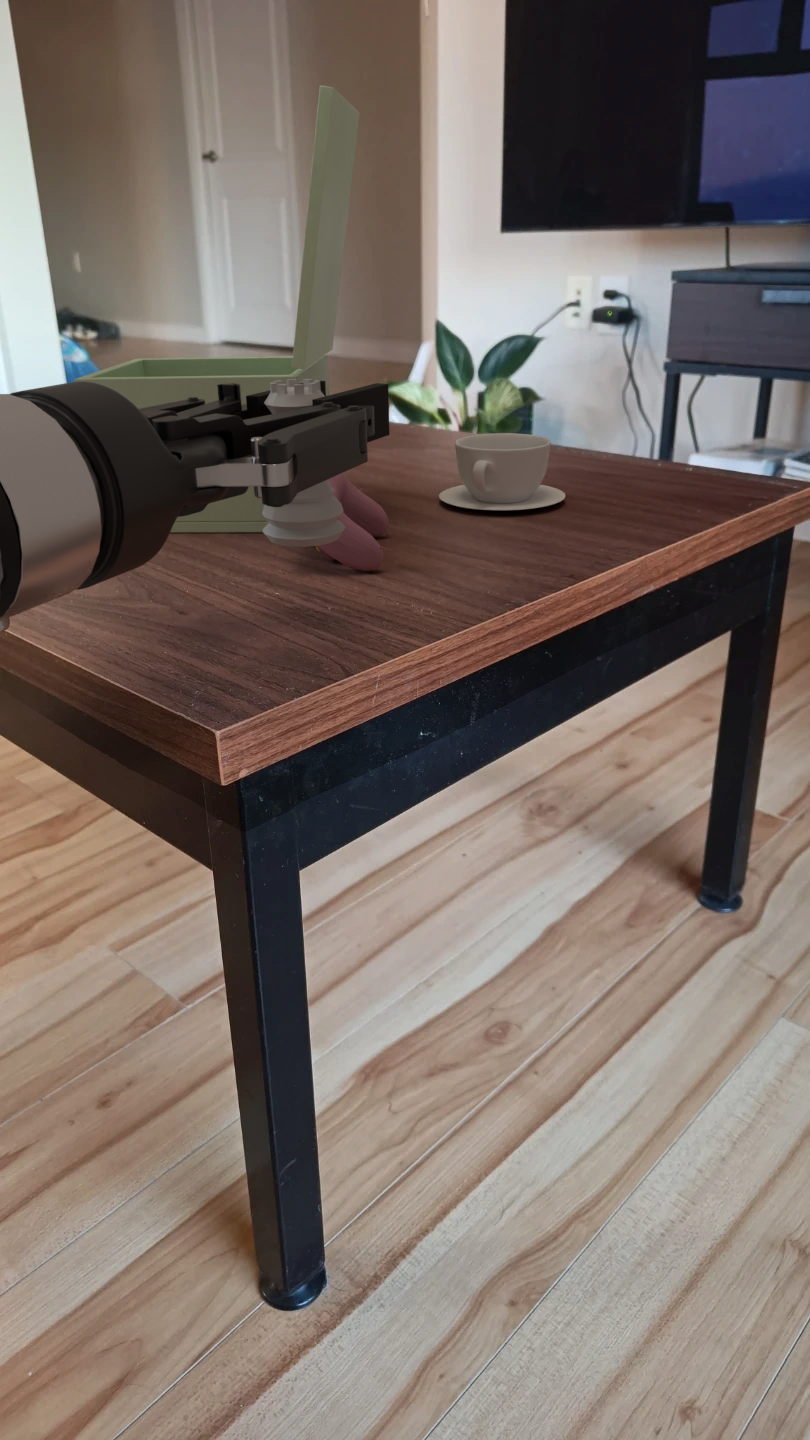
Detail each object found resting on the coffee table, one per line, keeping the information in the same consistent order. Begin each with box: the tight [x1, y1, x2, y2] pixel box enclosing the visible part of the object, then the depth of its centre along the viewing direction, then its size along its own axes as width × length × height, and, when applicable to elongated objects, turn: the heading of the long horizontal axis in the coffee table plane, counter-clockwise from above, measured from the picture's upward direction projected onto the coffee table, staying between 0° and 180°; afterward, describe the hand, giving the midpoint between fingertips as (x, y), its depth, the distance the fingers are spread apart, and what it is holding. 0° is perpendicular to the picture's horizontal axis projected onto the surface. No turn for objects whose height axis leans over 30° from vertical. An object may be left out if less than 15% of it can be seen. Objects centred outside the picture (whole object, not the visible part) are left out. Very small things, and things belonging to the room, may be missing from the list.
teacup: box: [438, 432, 566, 511], centre depth 81 cm, size 10×10×5 cm
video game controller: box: [315, 473, 390, 572], centre depth 68 cm, size 10×5×7 cm, turn 178°
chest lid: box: [292, 85, 361, 369], centre depth 72 cm, size 16×14×1 cm
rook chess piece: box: [262, 379, 345, 548], centre depth 54 cm, size 4×4×8 cm
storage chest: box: [74, 355, 330, 534], centre depth 79 cm, size 16×14×11 cm
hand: (350, 407), depth 57 cm, fingers closed on rook chess piece, 3 cm apart
